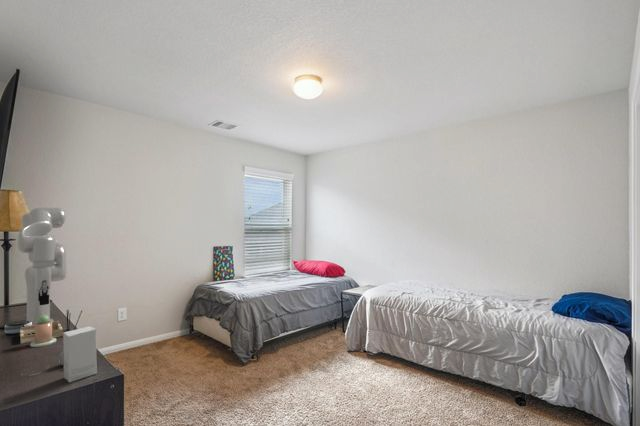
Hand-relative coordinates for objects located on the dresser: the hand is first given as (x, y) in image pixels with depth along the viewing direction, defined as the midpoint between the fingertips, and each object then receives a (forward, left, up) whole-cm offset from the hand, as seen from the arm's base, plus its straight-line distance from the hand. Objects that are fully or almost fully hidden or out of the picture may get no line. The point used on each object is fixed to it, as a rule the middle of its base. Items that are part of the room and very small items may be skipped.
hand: (43, 302), depth 149 cm
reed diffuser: (+38, +6, -18) cm, 43 cm away
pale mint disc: (0, 0, -18) cm, 18 cm away
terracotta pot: (0, 0, -17) cm, 17 cm away
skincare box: (+53, +7, -18) cm, 57 cm away
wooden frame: (-15, 0, -18) cm, 23 cm away
